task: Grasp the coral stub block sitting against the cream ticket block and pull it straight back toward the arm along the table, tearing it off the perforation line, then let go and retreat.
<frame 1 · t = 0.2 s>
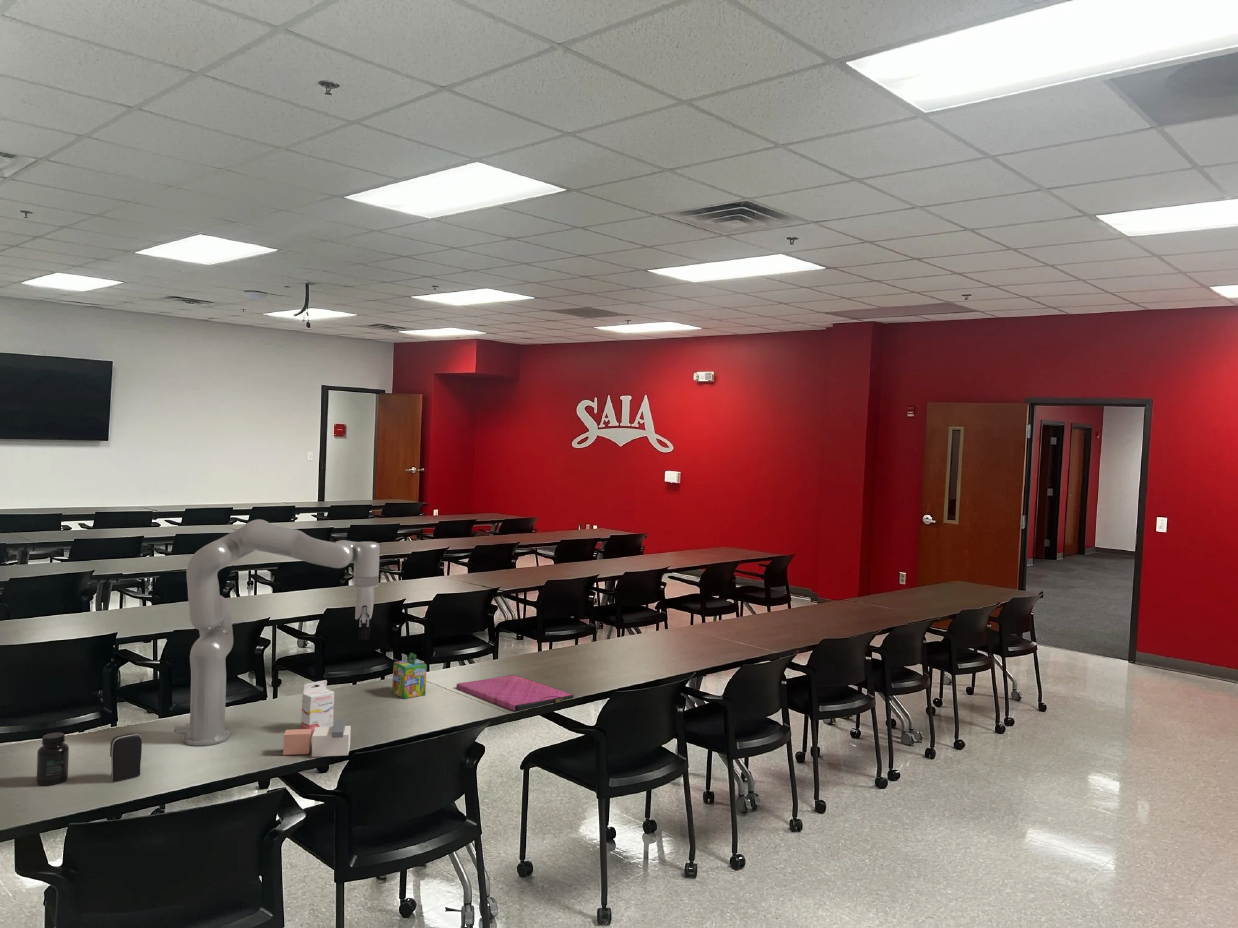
hand: (364, 635, 264), 31 cm above the table, fingers open, 9 cm apart
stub: (297, 741, 247), point 3 cm above the table, slide at 0.0 cm
laptop bag: (517, 696, 313), on the table
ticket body: (331, 750, 249), on the table
supplement bottle: (52, 781, 220), on the table
ink cartridge box: (317, 729, 267), on the table
chalk box: (408, 694, 308), on the table
black rounded block: (124, 778, 224), on the table
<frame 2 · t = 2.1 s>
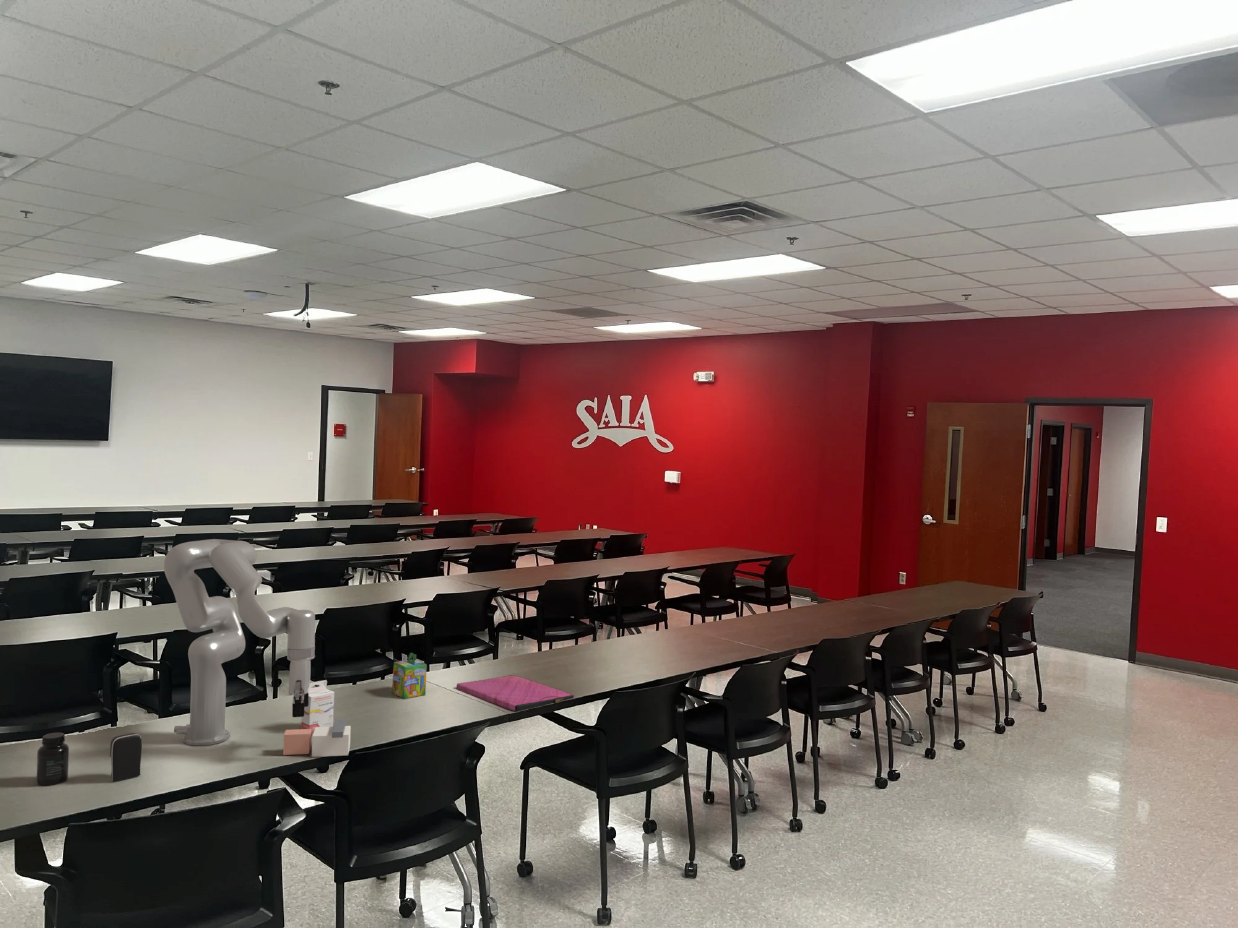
hand: (300, 711, 246), 12 cm above the table, fingers open, 9 cm apart
nothing on the table moved.
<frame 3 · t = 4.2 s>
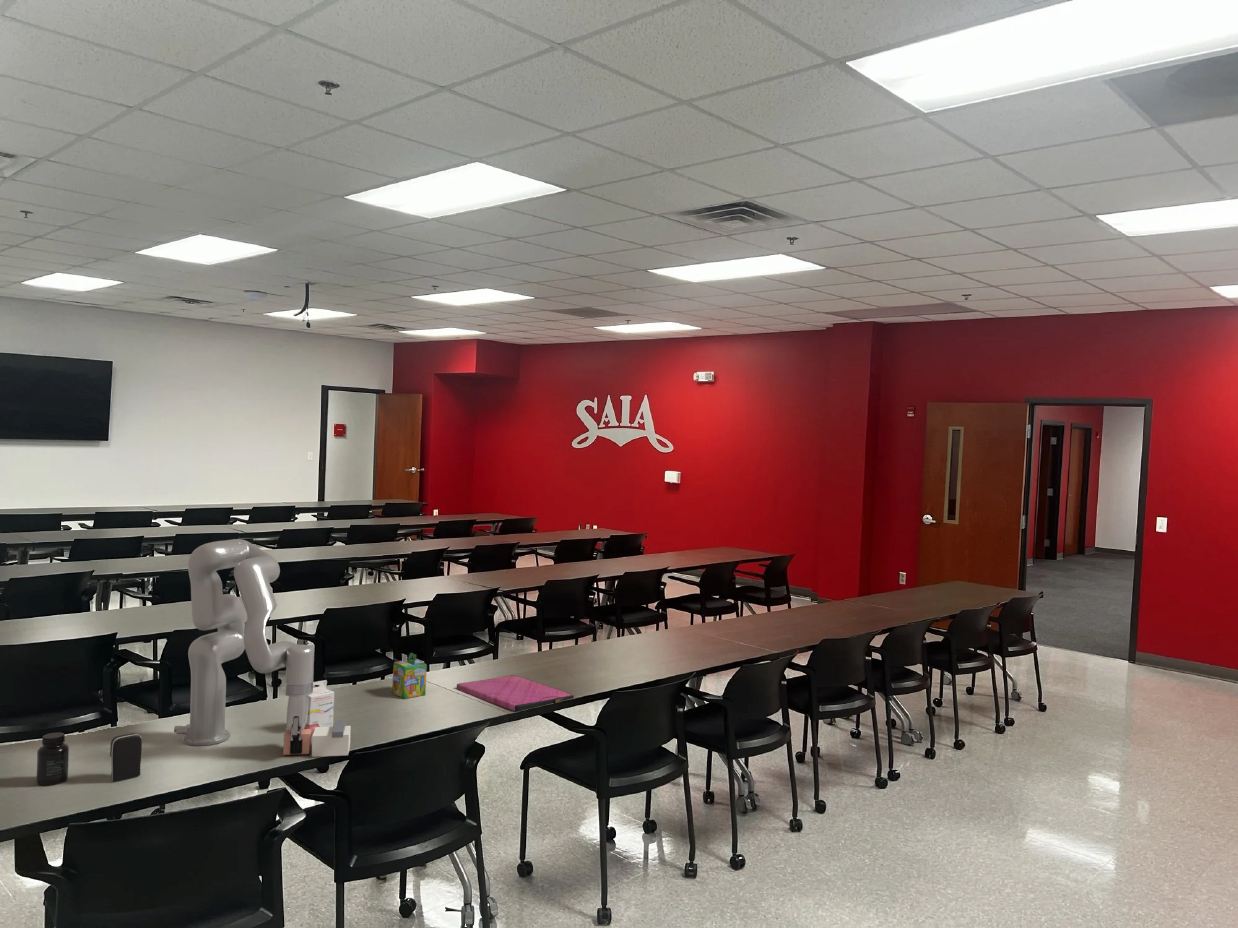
hand: (297, 749, 247), 1 cm above the table, fingers closed on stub, 4 cm apart
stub: (297, 741, 247), point 3 cm above the table, slide at 0.0 cm, touching gripper
everything else where it was.
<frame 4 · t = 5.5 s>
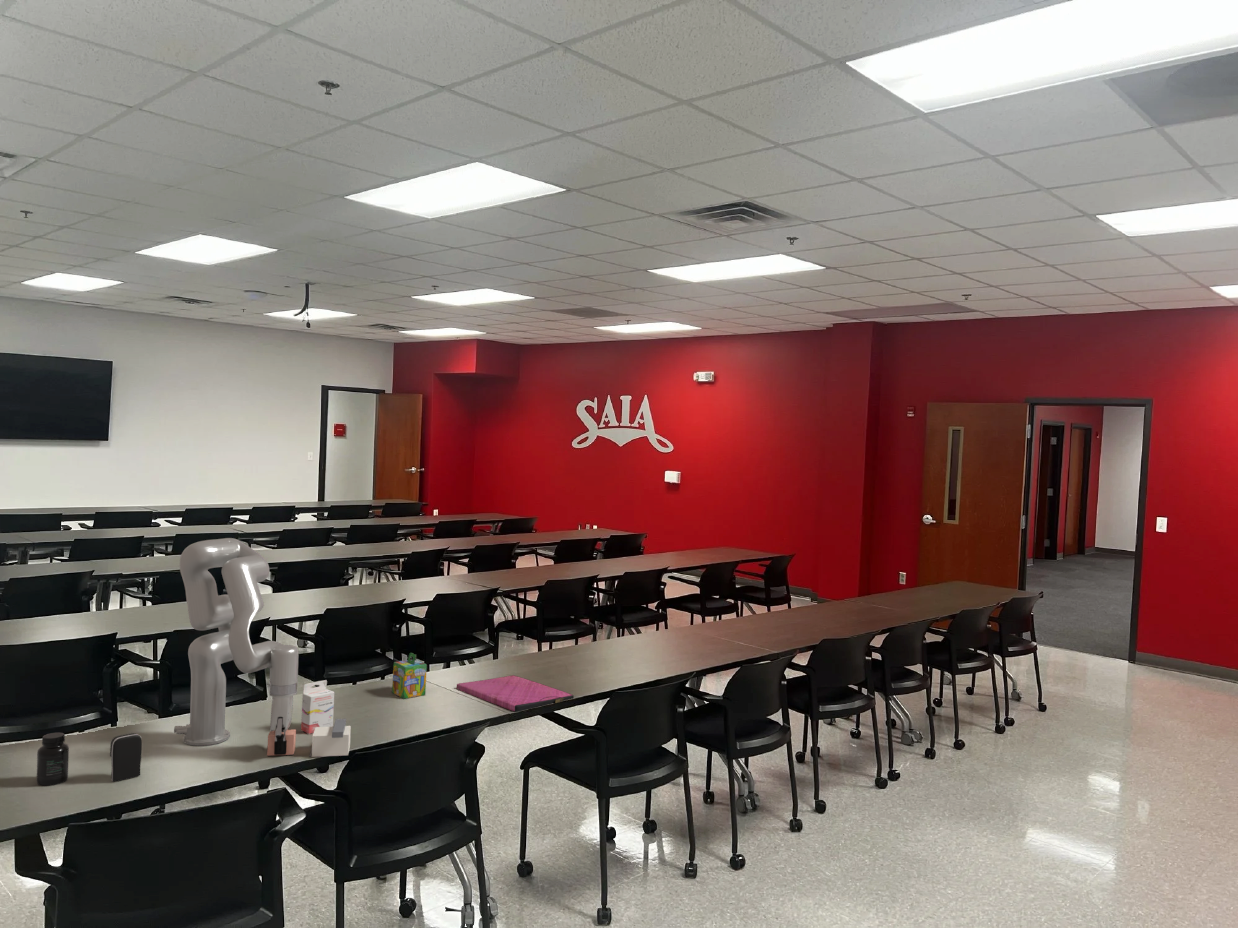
hand: (281, 750, 246), 1 cm above the table, fingers closed on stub, 4 cm apart
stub: (281, 742, 246), point 3 cm above the table, slide at 4.3 cm, touching gripper
everything else where it was.
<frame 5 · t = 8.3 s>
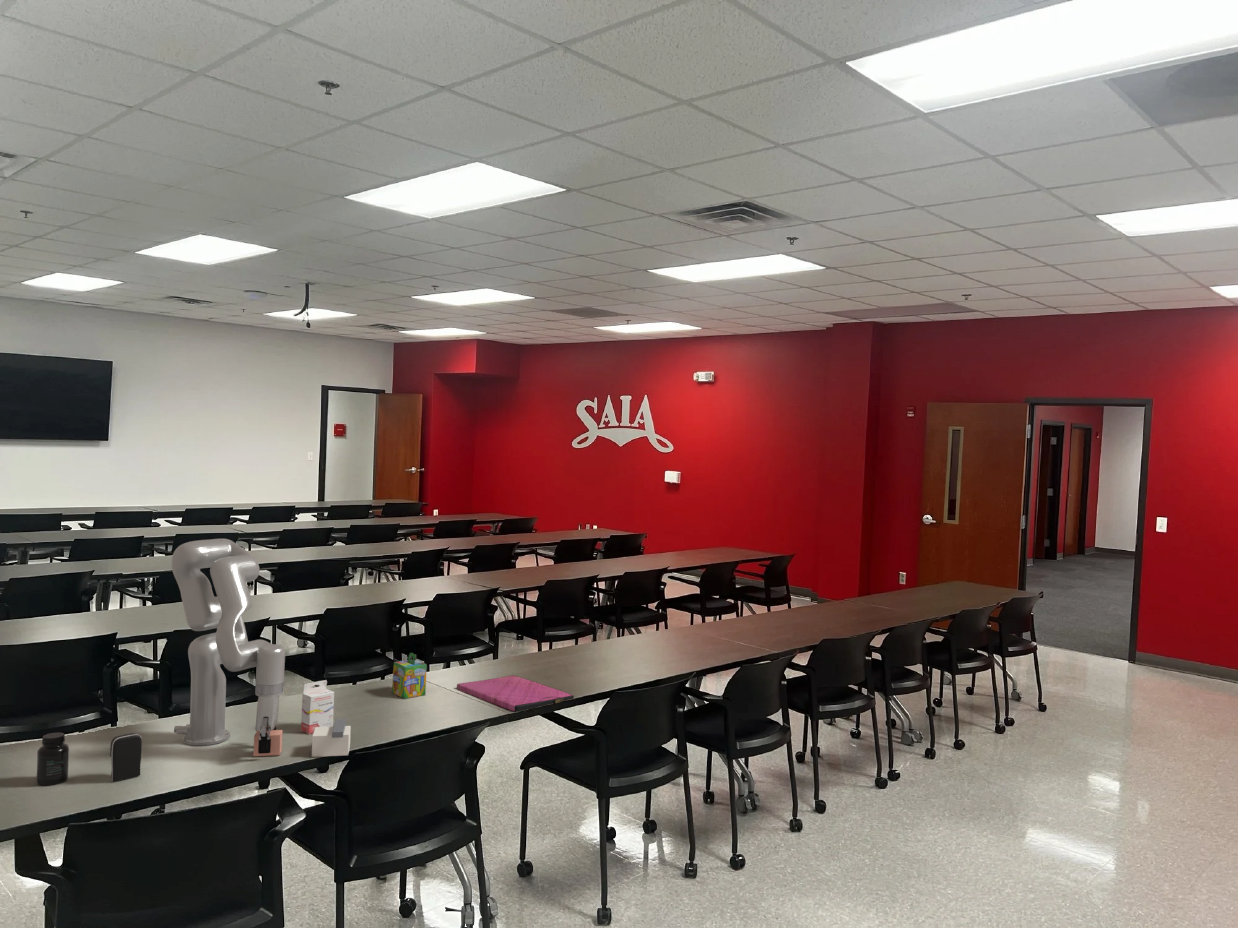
hand: (267, 746, 245), 2 cm above the table, fingers open, 9 cm apart
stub: (268, 742, 245), point 3 cm above the table, slide at 8.0 cm
everything else where it was.
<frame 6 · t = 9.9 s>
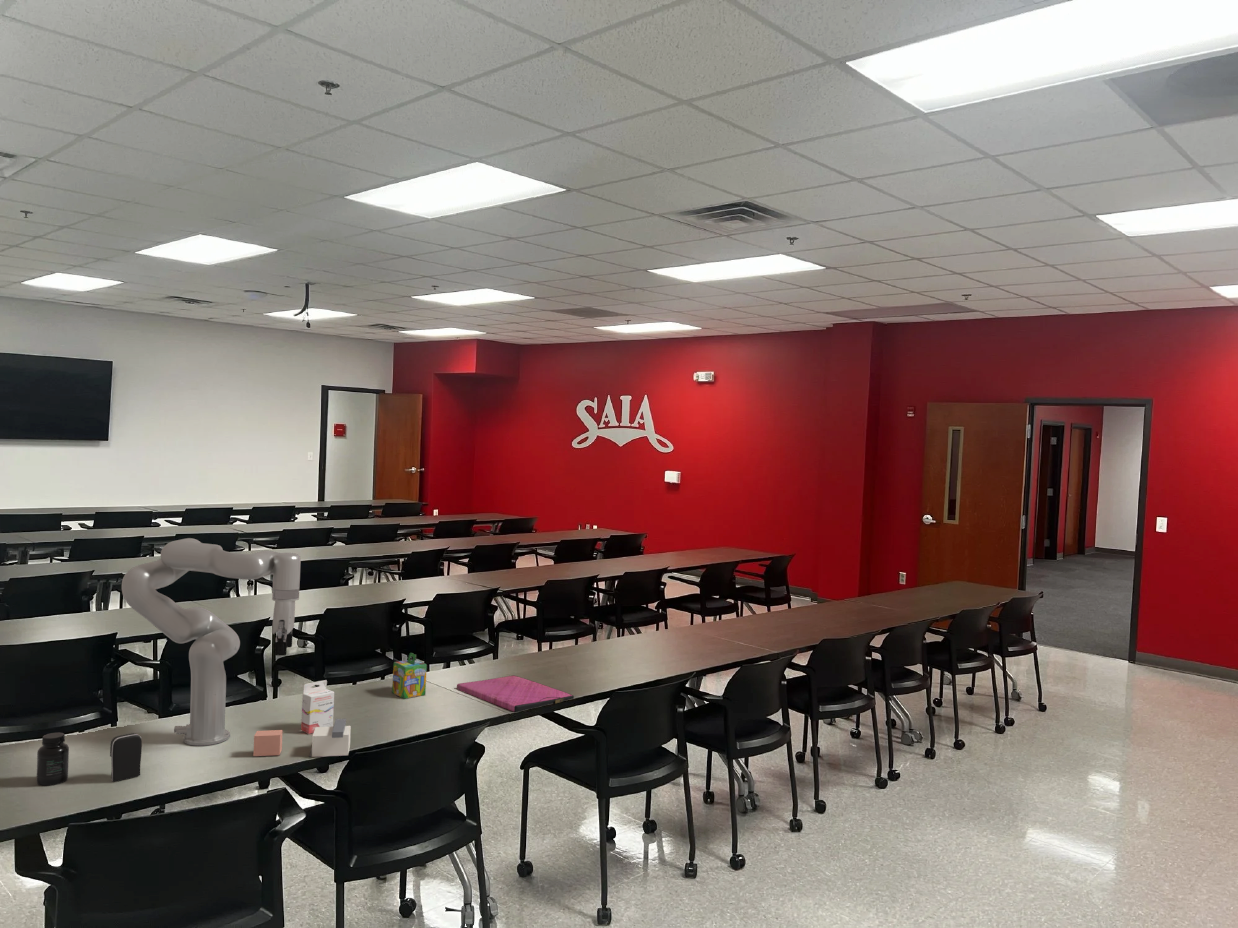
hand: (283, 651, 254), 28 cm above the table, fingers open, 9 cm apart
nothing on the table moved.
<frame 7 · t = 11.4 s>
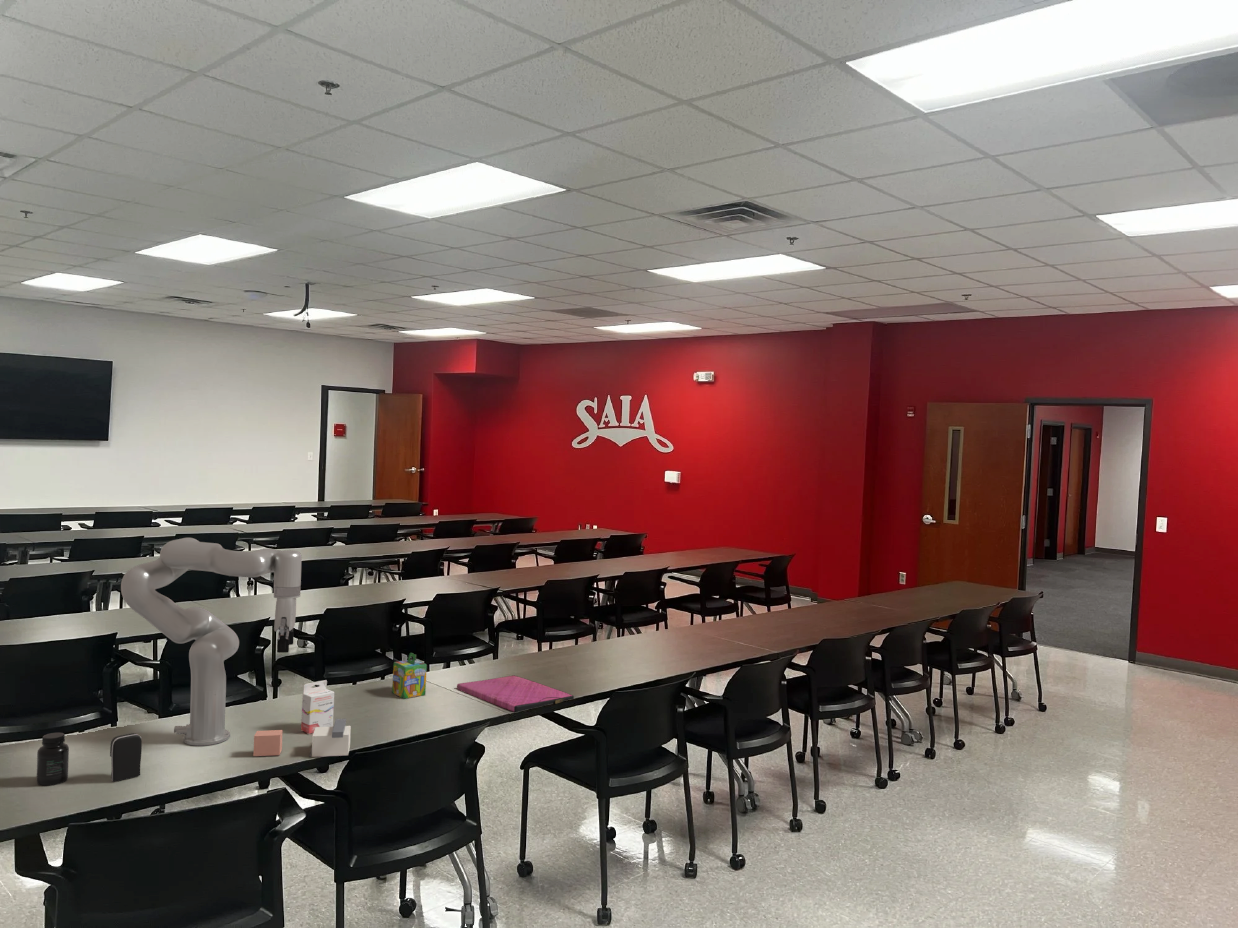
hand: (285, 648, 254), 28 cm above the table, fingers open, 9 cm apart
nothing on the table moved.
at the end: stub slide at 8.0 cm; the gripper is holding nothing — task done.
